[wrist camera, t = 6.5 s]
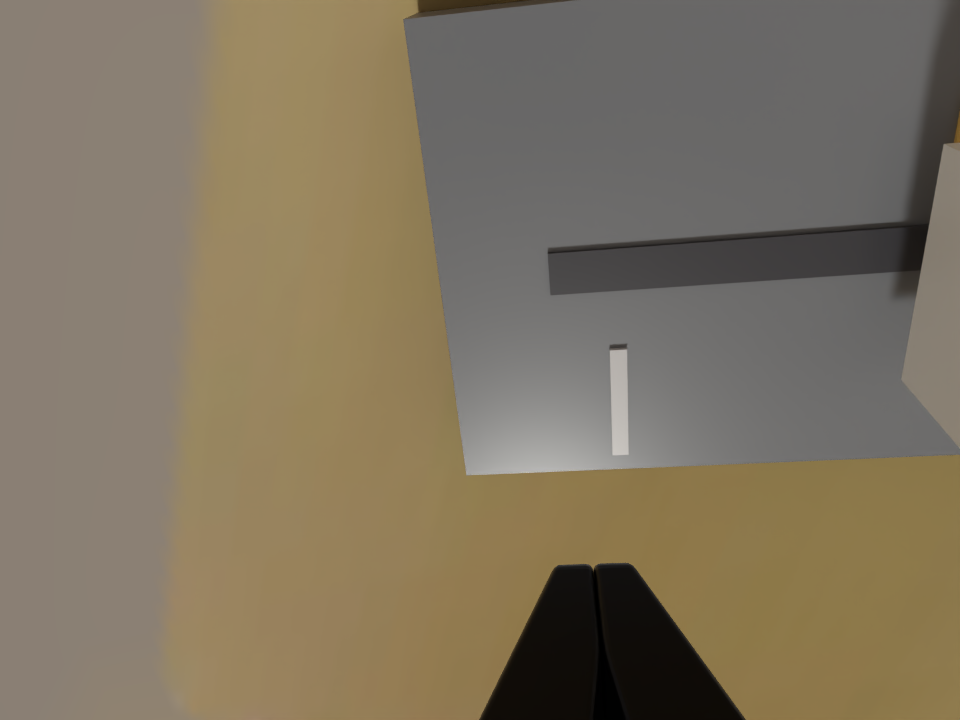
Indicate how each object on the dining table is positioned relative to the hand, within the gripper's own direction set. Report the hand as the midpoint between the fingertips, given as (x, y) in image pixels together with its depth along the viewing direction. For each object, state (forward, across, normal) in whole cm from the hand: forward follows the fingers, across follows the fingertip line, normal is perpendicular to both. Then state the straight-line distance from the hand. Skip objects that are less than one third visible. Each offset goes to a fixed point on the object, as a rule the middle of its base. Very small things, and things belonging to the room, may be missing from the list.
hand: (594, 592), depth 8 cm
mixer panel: (+12, -6, 0) cm, 13 cm away
